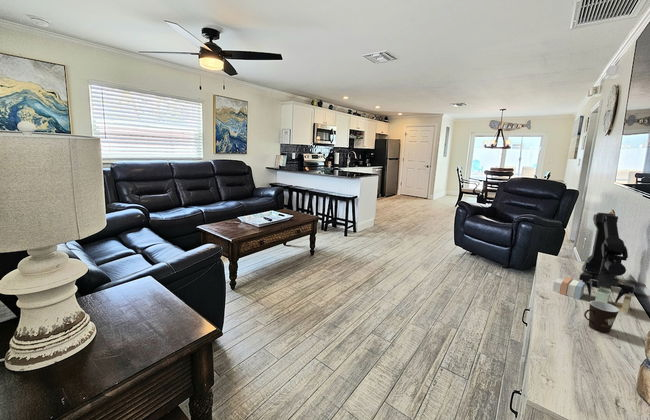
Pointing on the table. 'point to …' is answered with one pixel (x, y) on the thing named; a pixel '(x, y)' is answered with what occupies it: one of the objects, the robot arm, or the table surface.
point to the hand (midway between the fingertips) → (602, 298)
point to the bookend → (624, 304)
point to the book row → (569, 287)
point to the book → (603, 295)
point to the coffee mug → (601, 316)
